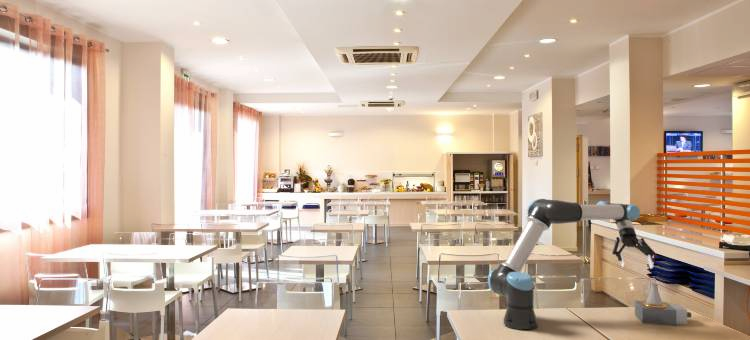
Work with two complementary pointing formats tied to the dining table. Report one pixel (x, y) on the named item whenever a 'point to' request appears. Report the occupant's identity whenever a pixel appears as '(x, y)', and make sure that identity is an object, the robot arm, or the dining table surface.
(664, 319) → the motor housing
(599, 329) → the dining table surface
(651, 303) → the flask
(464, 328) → the dining table surface
